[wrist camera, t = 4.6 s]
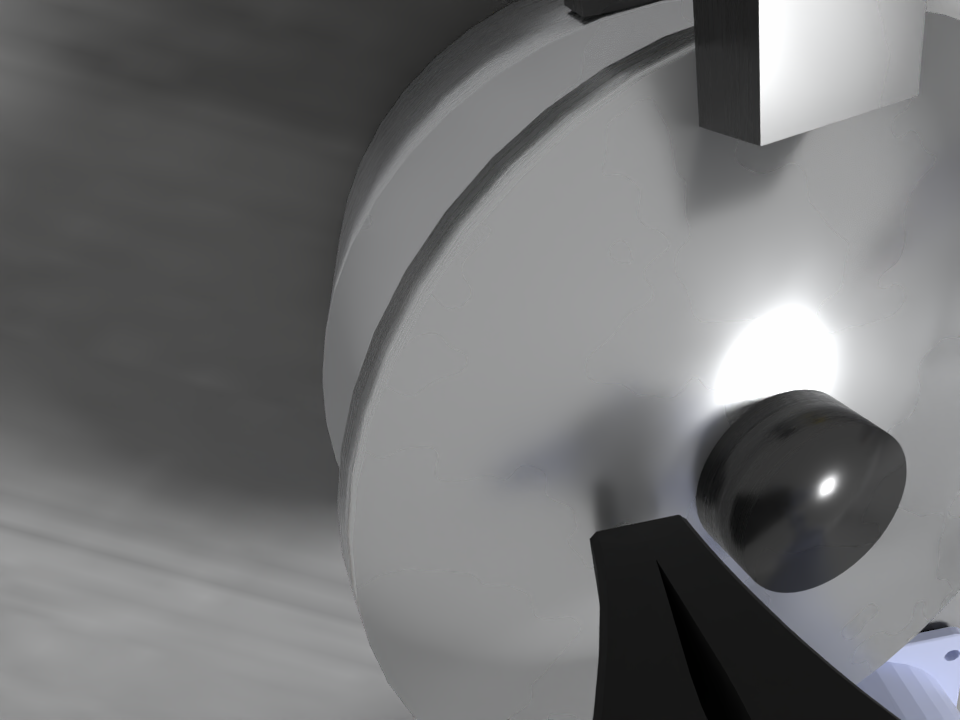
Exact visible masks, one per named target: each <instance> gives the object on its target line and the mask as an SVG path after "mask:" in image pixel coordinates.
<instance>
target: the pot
mask: <svg viewBox="0 0 960 720" xmlns="http://www.w3.org/2000/svg"><path fill="white" fill-rule="evenodd" d="M692 26H694V14H693V0H519V1H516V2H514V3H512V4H510V5H508V6H506V7H504V8H503V9H501V10H500V11H498V12H496V13H495V14H493V15H492V16H490V17H488V18H487V19H485V20H483V21H482V22H480V23H479V24H477V25H475V26H474V27H472V28H471V29H469V30H468V31H467V32H465V33H464V34H463V35H462V36H460V37H459V38H458V39H457V40H456V41H454V42H453V43H452V44H451V45H450V46H448V47H447V48H446V49H445V50H443V51H442V52H441V53H440V54H439V55H437V56H436V57H435V58H434V59H433V60H432V61H431V62H430V63H429V64H428V65H427V66H426V68H425V69H424V70H423V71H422V72H421V73H420V74H419V75H418V76H417V77H416V78H415V79H414V80H413V82H412V83H411V84H410V85H409V86H408V87H407V88H406V89H405V90H404V92H403V93H402V94H401V96H400V97H399V99H398V100H397V101H396V103H395V104H394V106H393V107H392V109H391V110H390V111H389V113H388V114H387V116H386V117H385V118H384V120H383V121H382V123H381V124H380V126H379V128H378V130H377V131H376V133H375V135H374V137H373V139H372V141H371V143H370V145H369V147H368V149H367V151H366V153H365V154H364V156H363V158H362V160H361V162H360V165H359V168H358V171H357V174H356V176H355V179H354V182H353V185H352V188H351V190H350V193H349V196H348V199H347V204H346V209H345V213H344V218H343V223H342V228H341V233H340V238H339V245H338V252H337V258H336V265H335V272H334V279H333V285H332V292H331V299H330V306H329V312H328V319H327V326H326V333H325V343H324V360H323V378H322V384H323V394H324V404H325V415H326V424H327V428H328V431H329V435H330V439H331V443H332V447H333V451H334V454H335V458H336V462H337V464H338V467H339V469H340V454H341V446H342V442H343V437H344V432H345V427H346V422H347V418H348V413H349V408H350V403H351V399H352V394H353V390H354V387H355V385H356V382H357V379H358V376H359V373H360V371H361V368H362V365H363V362H364V359H365V357H366V354H367V351H368V348H369V345H370V343H371V340H372V337H373V334H374V331H375V330H376V328H377V326H378V324H379V322H380V320H381V318H382V316H383V314H384V312H385V310H386V308H387V306H388V304H389V302H390V300H391V298H392V296H393V294H394V292H395V290H396V288H397V286H398V284H399V282H400V280H401V278H402V276H403V274H404V272H405V271H406V269H407V268H408V266H409V265H410V263H411V262H412V260H413V259H414V257H415V256H416V254H417V253H418V251H419V250H420V248H421V247H422V245H423V244H424V242H425V241H426V240H427V238H428V237H429V235H430V234H431V232H432V231H433V229H434V228H435V226H436V225H437V223H438V222H439V220H440V219H441V217H442V216H443V214H444V213H445V212H446V210H447V209H448V208H449V207H450V206H451V205H452V203H453V202H454V201H455V200H456V199H457V198H458V197H459V195H460V194H461V193H462V192H463V191H464V190H465V188H466V187H467V186H468V185H469V184H470V183H471V182H472V180H473V179H474V178H475V177H476V176H477V175H478V173H479V172H480V171H481V170H482V169H483V168H484V166H485V165H486V164H487V163H488V162H489V161H490V160H491V158H492V157H493V156H495V155H496V154H497V153H498V152H499V151H500V150H501V149H502V148H503V147H504V146H506V145H507V144H508V143H509V142H510V141H511V140H512V139H513V138H514V137H515V136H517V135H518V134H519V133H520V132H521V131H522V130H523V129H524V128H525V127H526V126H528V125H529V124H530V123H531V122H532V121H533V120H534V119H535V118H536V117H537V116H539V115H540V114H541V113H542V112H543V111H544V110H545V109H546V108H548V107H549V106H551V105H552V104H554V103H555V102H556V101H558V100H559V99H561V98H562V97H563V96H565V95H566V94H568V93H569V92H571V91H572V90H573V89H575V88H576V87H578V86H579V85H580V84H582V83H583V82H585V81H586V80H588V79H589V78H590V77H592V76H593V75H595V74H596V73H598V72H599V71H600V70H602V69H603V68H605V67H607V66H609V65H611V64H613V63H615V62H616V61H618V60H620V59H622V58H624V57H626V56H628V55H630V54H632V53H634V52H635V51H637V50H639V49H641V48H643V47H645V46H647V45H649V44H651V43H653V42H654V41H656V40H658V39H660V38H662V37H664V36H667V35H670V34H672V33H675V32H678V31H681V30H684V29H686V28H689V27H692Z"/></svg>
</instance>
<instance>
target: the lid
mask: <svg viewBox="0 0 960 720" xmlns="http://www.w3.org/2000/svg"><path fill="white" fill-rule="evenodd" d="M925 11H926V0H693V14H694V26H692V27H689V28H686V29H684V30H681V31H678V32H675V33H672V34H670V35H667V36H664V37H662V38H660V39H658V40H656V41H654V42H653V43H651V44H649V45H647V46H645V47H643V48H641V49H639V50H637V51H635V52H634V53H632V54H630V55H628V56H626V57H624V58H622V59H620V60H618V61H616V62H615V63H613V64H611V65H609V66H607V67H605V68H603V69H602V70H600V71H599V72H598V73H596V74H595V75H593V76H592V77H590V78H589V79H588V80H586V81H585V82H583V83H582V84H580V85H579V86H578V87H576V88H575V89H573V90H572V91H571V92H569V93H568V94H566V95H565V96H563V97H562V98H561V99H559V100H558V101H556V102H555V103H554V104H552V105H551V106H549V107H548V108H546V109H545V110H544V111H543V112H542V113H541V114H540V115H539V116H537V117H536V118H535V119H534V120H533V121H532V122H531V123H530V124H529V125H528V126H526V127H525V128H524V129H523V130H522V131H521V132H520V133H519V134H518V135H517V136H515V137H514V138H513V139H512V140H511V141H510V142H509V143H508V144H507V145H506V146H504V147H503V148H502V149H501V150H500V151H499V152H498V153H497V154H496V155H495V156H493V157H492V158H491V160H490V161H489V162H488V163H487V164H486V165H485V166H484V168H483V169H482V170H481V171H480V172H479V173H478V175H477V176H476V177H475V178H474V179H473V180H472V182H471V183H470V184H469V185H468V186H467V187H466V188H465V190H464V191H463V192H462V193H461V194H460V195H459V197H458V198H457V199H456V200H455V201H454V202H453V203H452V205H451V206H450V207H449V208H448V209H447V210H446V212H445V213H444V214H443V216H442V217H441V219H440V220H439V222H438V223H437V225H436V226H435V228H434V229H433V231H432V232H431V234H430V235H429V237H428V238H427V240H426V241H425V242H424V244H423V245H422V247H421V248H420V250H419V251H418V253H417V254H416V256H415V257H414V259H413V260H412V262H411V263H410V265H409V266H408V268H407V269H406V271H405V272H404V274H403V276H402V278H401V280H400V282H399V284H398V286H397V288H396V290H395V292H394V294H393V296H392V298H391V300H390V302H389V304H388V306H387V308H386V310H385V312H384V314H383V316H382V318H381V320H380V322H379V324H378V326H377V328H376V330H375V331H374V334H373V337H372V340H371V343H370V345H369V348H368V351H367V354H366V357H365V359H364V362H363V365H362V368H361V371H360V373H359V376H358V379H357V382H356V385H355V387H354V390H353V394H352V399H351V403H350V408H349V413H348V418H347V422H346V427H345V432H344V437H343V442H342V446H341V454H340V470H339V486H338V502H337V506H338V516H339V527H340V537H341V547H342V555H343V559H344V563H345V566H346V570H347V574H348V577H349V581H350V585H351V588H352V592H353V596H354V599H355V602H356V605H357V608H358V611H359V614H360V617H361V620H362V623H363V626H364V629H365V632H366V635H367V638H368V641H369V644H370V646H371V648H372V650H373V652H374V654H375V657H376V659H377V661H378V663H379V665H380V667H381V669H382V671H383V673H384V675H385V677H386V679H387V681H388V683H389V685H390V686H391V687H392V689H393V690H394V691H395V693H396V694H397V695H398V697H399V698H400V699H401V701H402V702H403V703H404V705H405V706H406V707H407V709H408V710H409V711H410V713H411V714H412V715H413V716H414V717H415V718H416V719H417V720H593V713H594V703H595V692H596V681H597V670H598V658H599V616H600V606H599V597H598V591H597V584H596V578H595V571H594V565H593V558H592V552H591V545H590V538H591V537H592V536H593V535H594V533H595V532H596V531H601V530H606V529H610V528H615V527H620V526H625V525H630V524H635V523H640V522H645V521H649V520H654V519H659V518H664V517H669V516H674V515H681V516H682V517H684V518H685V519H687V520H688V522H689V523H690V524H691V525H692V527H693V528H694V529H695V530H696V531H697V533H698V534H699V535H700V536H701V537H702V539H703V540H704V541H705V542H706V543H707V544H708V545H709V547H710V548H711V549H712V550H713V551H714V552H715V553H716V554H717V556H718V557H719V558H720V559H721V560H722V561H723V562H724V563H725V564H726V565H727V566H728V567H729V569H730V570H731V571H732V572H733V573H734V574H735V575H736V576H737V577H738V578H739V579H740V580H741V581H742V582H743V583H744V584H745V585H746V586H747V587H748V588H749V589H750V590H751V591H752V592H753V593H754V594H755V595H756V596H757V597H758V598H759V599H760V600H761V601H762V602H763V603H764V604H765V605H766V606H767V607H768V608H769V609H770V610H771V611H772V612H773V613H774V614H775V615H777V616H778V617H779V618H780V619H781V620H782V621H783V622H784V623H785V624H786V625H787V626H788V627H789V628H790V629H791V630H792V631H794V632H795V633H796V634H797V635H798V636H799V637H800V638H801V639H802V640H803V641H805V642H806V643H807V644H808V645H809V646H810V647H811V648H813V649H814V650H815V651H816V652H817V653H818V654H819V655H821V656H822V657H823V658H824V659H825V660H826V661H828V662H829V663H830V664H831V665H832V666H833V667H835V668H836V669H837V670H838V671H839V672H841V673H842V674H843V675H844V676H845V677H847V678H848V679H849V680H850V681H851V682H853V683H854V684H855V685H857V684H858V683H860V682H861V681H862V680H863V679H865V678H866V677H867V676H869V675H870V674H871V673H873V672H874V671H875V670H877V669H878V668H879V667H880V666H882V665H883V664H884V663H885V662H887V661H888V660H889V659H890V658H891V657H892V656H893V655H895V654H896V653H897V652H898V651H899V650H900V649H901V648H903V647H904V646H905V645H906V644H907V643H908V642H909V641H911V640H912V639H913V638H914V637H915V636H916V635H917V634H918V633H919V632H920V631H921V630H922V629H923V628H924V627H925V626H926V625H927V624H928V623H929V622H930V621H931V620H932V619H933V618H934V617H935V616H936V615H937V614H938V613H939V612H940V611H941V610H942V609H943V608H944V607H945V606H946V605H947V604H948V603H949V602H950V601H951V600H952V599H953V597H954V596H955V595H956V594H957V593H958V592H959V591H960V20H957V19H955V18H952V17H950V16H947V15H943V14H937V13H931V12H925Z"/></svg>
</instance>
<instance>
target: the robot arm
mask: <svg viewBox="0 0 960 720" xmlns="http://www.w3.org/2000/svg"><path fill="white" fill-rule="evenodd" d="M590 545H591V552H592V558H593V565H594V571H595V578H596V584H597V591H598V597H599V606H600V616H599V658H598V670H597V681H596V692H595V703H594V713H593V720H960V712H959V711H958V710H957V708H956V706H957V700H958V694H959V689H960V629H959V628H957V627H946V628H941V629H936V630H931V631H926V632H922V633H918V634H917V635H916V636H915V637H914V638H913V639H912V640H911V641H909V642H908V643H907V644H906V645H905V646H904V647H903V648H901V649H900V650H899V651H898V652H897V653H896V654H895V655H893V656H892V657H891V658H890V659H889V660H888V661H887V662H885V663H884V664H883V665H882V666H880V667H879V668H878V669H877V670H875V671H874V672H873V673H871V674H870V675H869V676H867V677H866V678H865V679H863V680H862V681H861V682H860V683H858V684H857V685H855V684H854V683H853V682H851V681H850V680H849V679H848V678H847V677H845V676H844V675H843V674H842V673H841V672H839V671H838V670H837V669H836V668H835V667H833V666H832V665H831V664H830V663H829V662H828V661H826V660H825V659H824V658H823V657H822V656H821V655H819V654H818V653H817V652H816V651H815V650H814V649H813V648H811V647H810V646H809V645H808V644H807V643H806V642H805V641H803V640H802V639H801V638H800V637H799V636H798V635H797V634H796V633H795V632H794V631H792V630H791V629H790V628H789V627H788V626H787V625H786V624H785V623H784V622H783V621H782V620H781V619H780V618H779V617H778V616H777V615H775V614H774V613H773V612H772V611H771V610H770V609H769V608H768V607H767V606H766V605H765V604H764V603H763V602H762V601H761V600H760V599H759V598H758V597H757V596H756V595H755V594H754V593H753V592H752V591H751V590H750V589H749V588H748V587H747V586H746V585H745V584H744V583H743V582H742V581H741V580H740V579H739V578H738V577H737V576H736V575H735V574H734V573H733V572H732V571H731V570H730V569H729V567H728V566H727V565H726V564H725V563H724V562H723V561H722V560H721V559H720V558H719V557H718V556H717V554H716V553H715V552H714V551H713V550H712V549H711V548H710V547H709V545H708V544H707V543H706V542H705V541H704V540H703V539H702V537H701V536H700V535H699V534H698V533H697V531H696V530H695V529H694V528H693V527H692V525H691V524H690V523H689V522H688V520H687V519H685V518H684V517H682V516H681V515H674V516H669V517H664V518H659V519H654V520H649V521H645V522H640V523H635V524H630V525H625V526H620V527H615V528H610V529H606V530H601V531H596V532H595V533H594V535H593V536H592V537H591V538H590Z"/></svg>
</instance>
